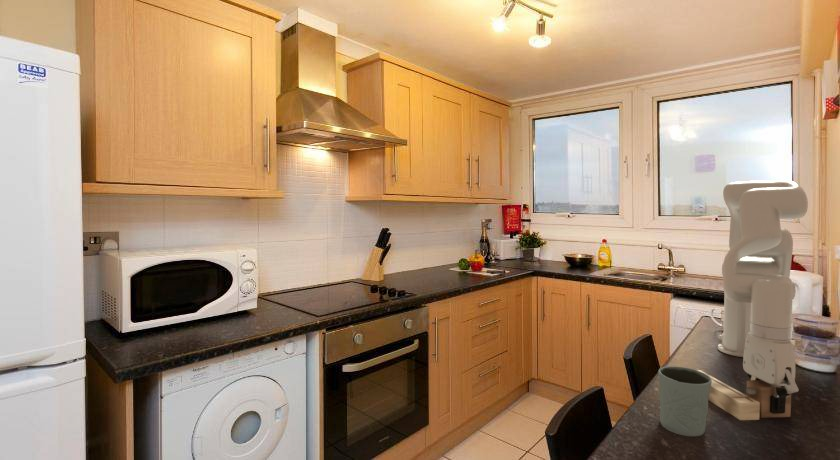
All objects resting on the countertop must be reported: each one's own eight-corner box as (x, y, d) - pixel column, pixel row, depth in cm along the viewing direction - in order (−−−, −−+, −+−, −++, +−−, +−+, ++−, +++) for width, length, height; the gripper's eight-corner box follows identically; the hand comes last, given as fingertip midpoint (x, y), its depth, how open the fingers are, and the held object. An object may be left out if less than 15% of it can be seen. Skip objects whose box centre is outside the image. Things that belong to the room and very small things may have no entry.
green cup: (662, 412, 105) (663, 362, 104) (713, 425, 98) (714, 372, 98) (653, 429, 97) (653, 376, 96) (707, 444, 90) (708, 387, 90)
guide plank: (683, 384, 120) (684, 370, 120) (699, 384, 120) (700, 369, 120) (740, 420, 100) (740, 402, 100) (759, 419, 100) (759, 402, 100)
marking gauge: (740, 408, 106) (740, 380, 105) (779, 407, 106) (780, 379, 106) (754, 417, 101) (755, 388, 101) (796, 416, 102) (797, 387, 101)
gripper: (728, 322, 111) (726, 393, 112) (786, 343, 94) (783, 426, 95) (756, 321, 111) (754, 392, 112) (820, 342, 94) (816, 425, 95)
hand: (768, 406), depth 104 cm, fingers closed on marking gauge, 4 cm apart
